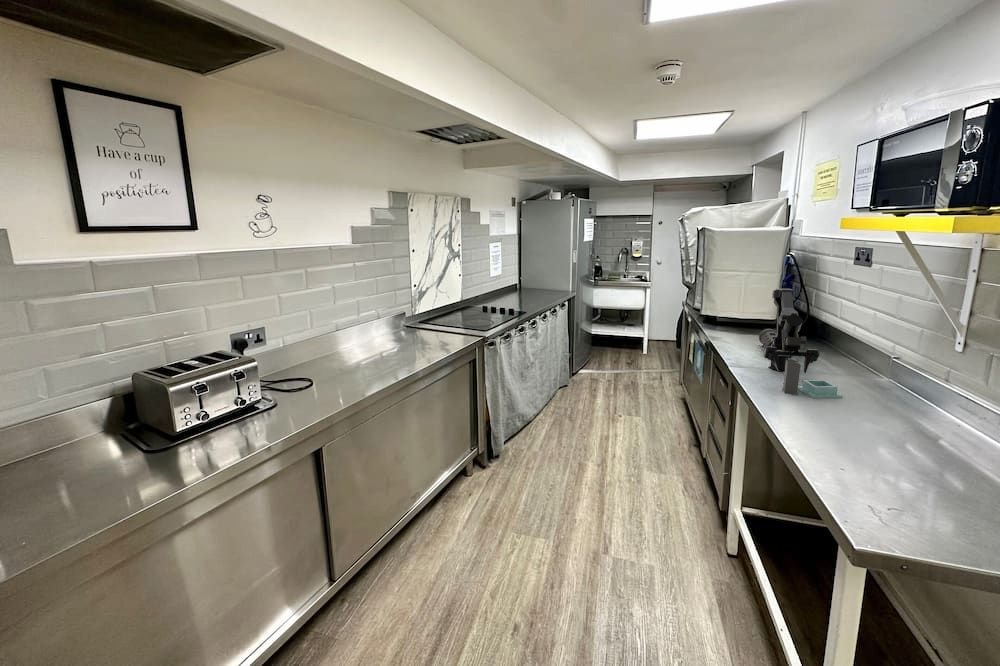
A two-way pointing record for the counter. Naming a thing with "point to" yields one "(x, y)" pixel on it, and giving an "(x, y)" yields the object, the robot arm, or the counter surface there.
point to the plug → (791, 376)
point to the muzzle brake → (767, 337)
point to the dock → (819, 389)
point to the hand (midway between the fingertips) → (791, 371)
